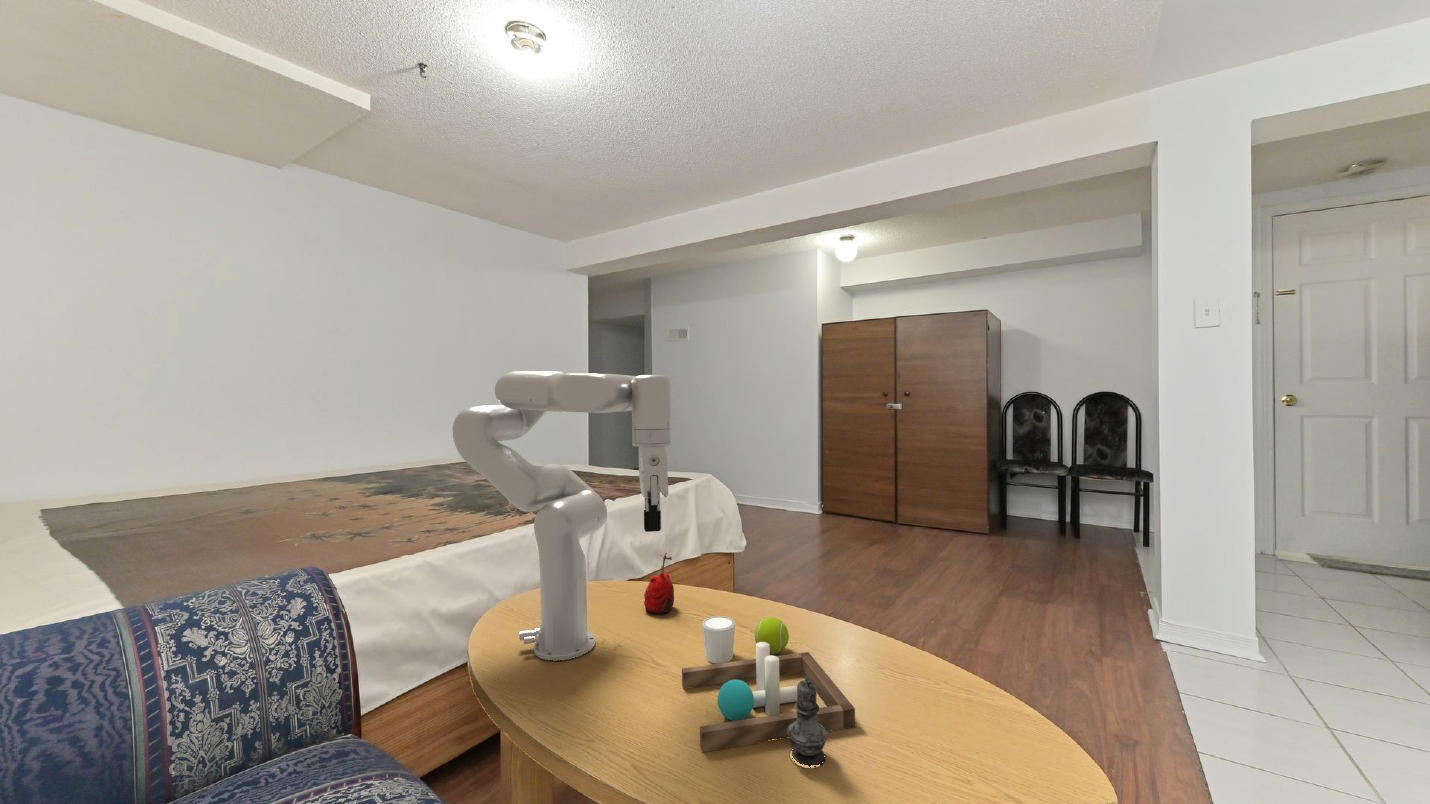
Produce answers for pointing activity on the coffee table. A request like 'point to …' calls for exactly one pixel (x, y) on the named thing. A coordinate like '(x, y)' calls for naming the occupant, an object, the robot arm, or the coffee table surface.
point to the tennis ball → (772, 634)
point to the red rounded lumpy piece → (659, 592)
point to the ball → (735, 700)
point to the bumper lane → (772, 726)
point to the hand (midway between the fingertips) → (652, 530)
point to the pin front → (785, 696)
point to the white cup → (718, 638)
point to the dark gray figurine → (807, 727)
